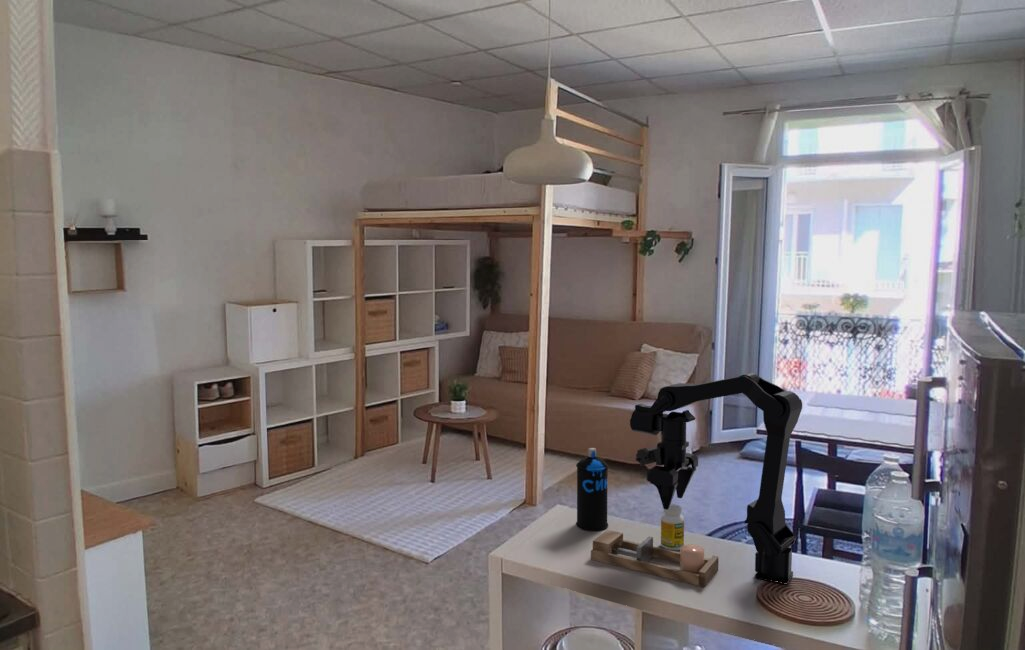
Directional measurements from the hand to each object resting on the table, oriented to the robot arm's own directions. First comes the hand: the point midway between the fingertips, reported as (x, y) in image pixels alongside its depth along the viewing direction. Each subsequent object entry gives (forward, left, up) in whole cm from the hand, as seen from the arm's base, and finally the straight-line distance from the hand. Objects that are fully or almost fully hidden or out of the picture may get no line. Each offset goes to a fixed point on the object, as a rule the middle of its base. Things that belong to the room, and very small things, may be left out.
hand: (673, 503), depth 163 cm
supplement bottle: (0, 0, -11) cm, 11 cm away
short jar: (-9, +12, -11) cm, 18 cm away
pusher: (+5, +12, -10) cm, 16 cm away
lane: (0, +12, -10) cm, 16 cm away
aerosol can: (+22, -2, -11) cm, 25 cm away
